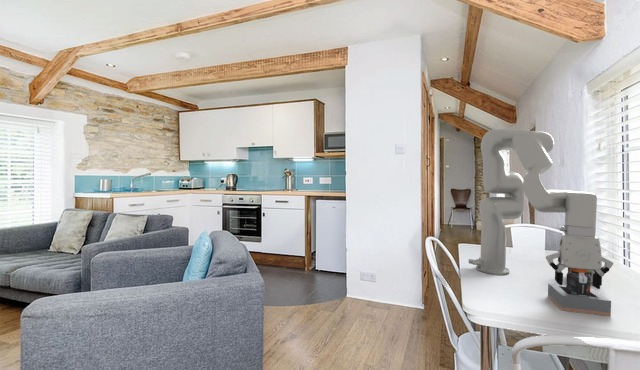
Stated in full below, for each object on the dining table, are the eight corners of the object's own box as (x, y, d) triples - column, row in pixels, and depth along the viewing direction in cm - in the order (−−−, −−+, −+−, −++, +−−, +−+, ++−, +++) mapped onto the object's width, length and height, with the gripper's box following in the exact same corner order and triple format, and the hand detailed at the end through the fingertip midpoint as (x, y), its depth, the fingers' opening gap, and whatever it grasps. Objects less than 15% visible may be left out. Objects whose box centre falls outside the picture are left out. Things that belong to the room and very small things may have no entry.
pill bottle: (591, 307, 98) (592, 270, 98) (566, 303, 101) (568, 267, 101) (587, 301, 103) (589, 266, 103) (564, 297, 106) (565, 263, 106)
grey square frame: (561, 310, 98) (562, 295, 98) (547, 296, 110) (548, 283, 109) (610, 316, 94) (611, 301, 94) (590, 301, 106) (591, 287, 106)
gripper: (551, 231, 100) (549, 286, 101) (620, 235, 95) (618, 293, 96) (543, 227, 108) (541, 278, 108) (607, 231, 102) (604, 285, 103)
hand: (577, 285), depth 102 cm, fingers open, 9 cm apart
